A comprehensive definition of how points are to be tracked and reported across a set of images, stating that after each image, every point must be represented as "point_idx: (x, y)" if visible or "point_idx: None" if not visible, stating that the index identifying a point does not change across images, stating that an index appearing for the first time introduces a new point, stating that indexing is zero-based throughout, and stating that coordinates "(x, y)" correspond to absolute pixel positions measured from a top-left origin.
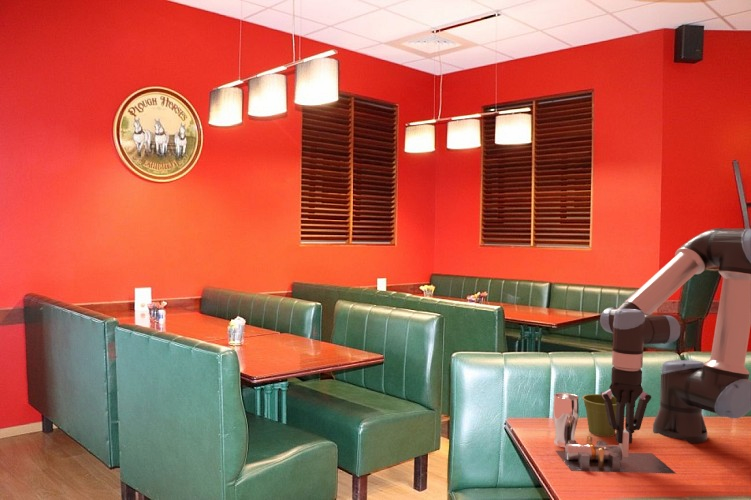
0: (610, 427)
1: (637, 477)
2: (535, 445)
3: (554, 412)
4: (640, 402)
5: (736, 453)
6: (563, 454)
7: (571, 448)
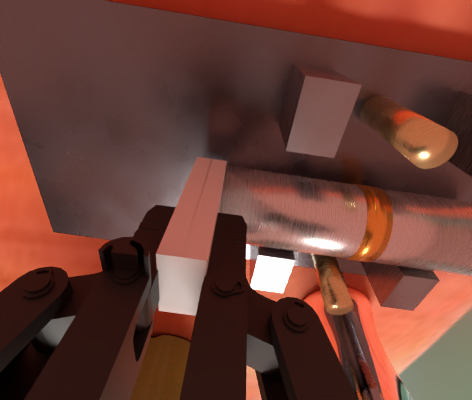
0: (145, 370)
1: (216, 4)
2: (414, 325)
3: None
4: None
5: None
6: None
7: None
